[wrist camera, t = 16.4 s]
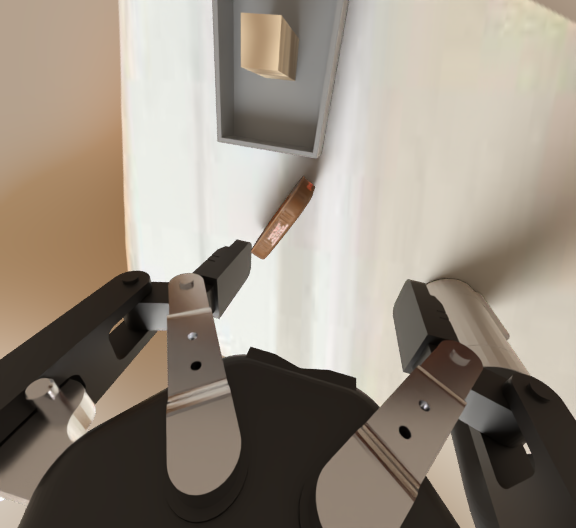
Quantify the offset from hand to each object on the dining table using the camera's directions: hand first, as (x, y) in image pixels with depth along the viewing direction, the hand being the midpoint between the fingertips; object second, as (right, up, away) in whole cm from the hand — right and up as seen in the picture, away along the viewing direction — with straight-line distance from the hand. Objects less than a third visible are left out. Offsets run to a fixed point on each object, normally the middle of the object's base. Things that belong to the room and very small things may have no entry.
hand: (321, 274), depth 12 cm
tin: (-2, +10, +29) cm, 31 cm away
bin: (-2, +27, +18) cm, 32 cm away
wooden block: (-3, +26, +18) cm, 32 cm away
